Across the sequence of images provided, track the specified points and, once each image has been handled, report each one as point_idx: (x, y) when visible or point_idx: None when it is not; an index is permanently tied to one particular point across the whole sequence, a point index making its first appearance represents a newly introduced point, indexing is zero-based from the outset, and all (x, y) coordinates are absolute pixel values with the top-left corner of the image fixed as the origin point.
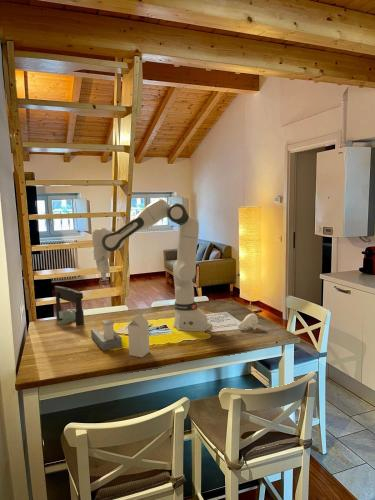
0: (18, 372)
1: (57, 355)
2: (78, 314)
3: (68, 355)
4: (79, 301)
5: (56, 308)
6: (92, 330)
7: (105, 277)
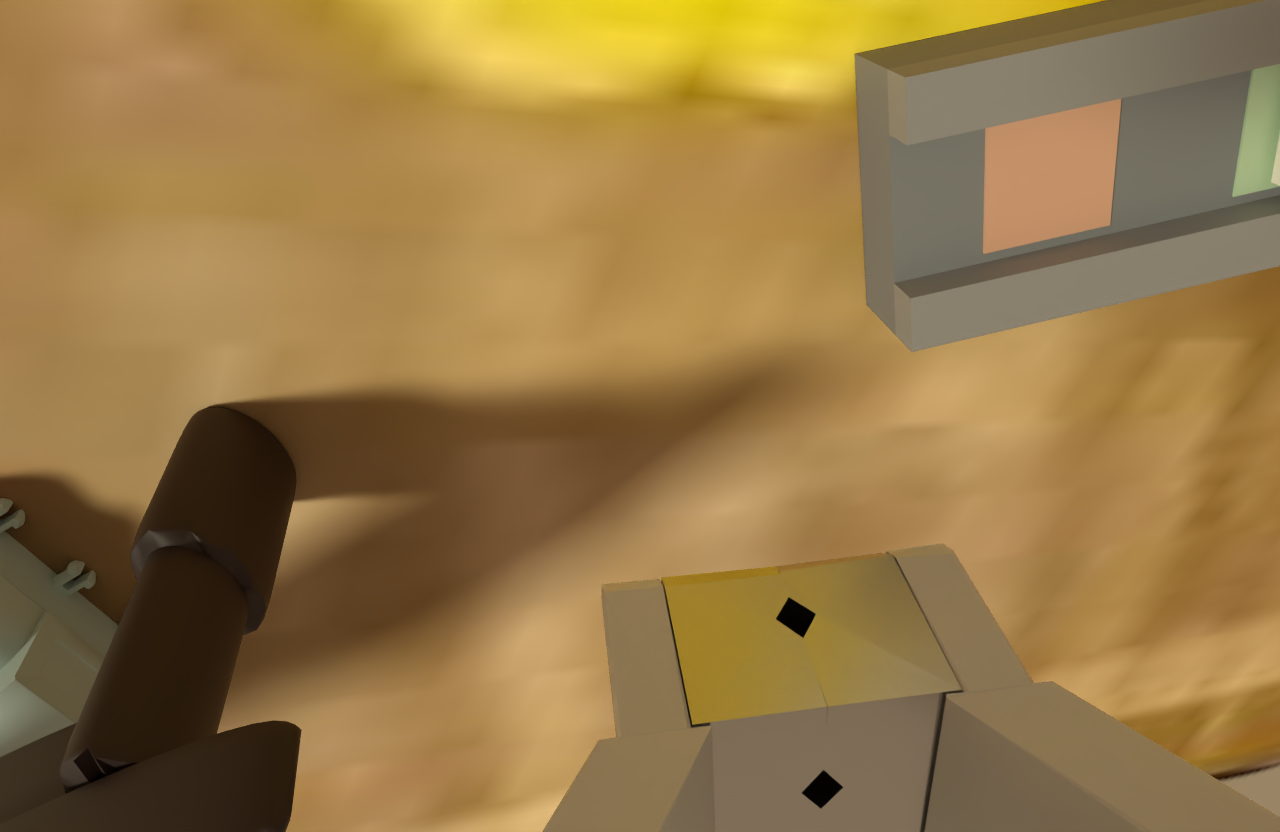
0: (1275, 763)
1: (1165, 586)
2: (269, 568)
3: (1230, 505)
4: (187, 718)
5: None
6: (980, 332)
7: (997, 663)
